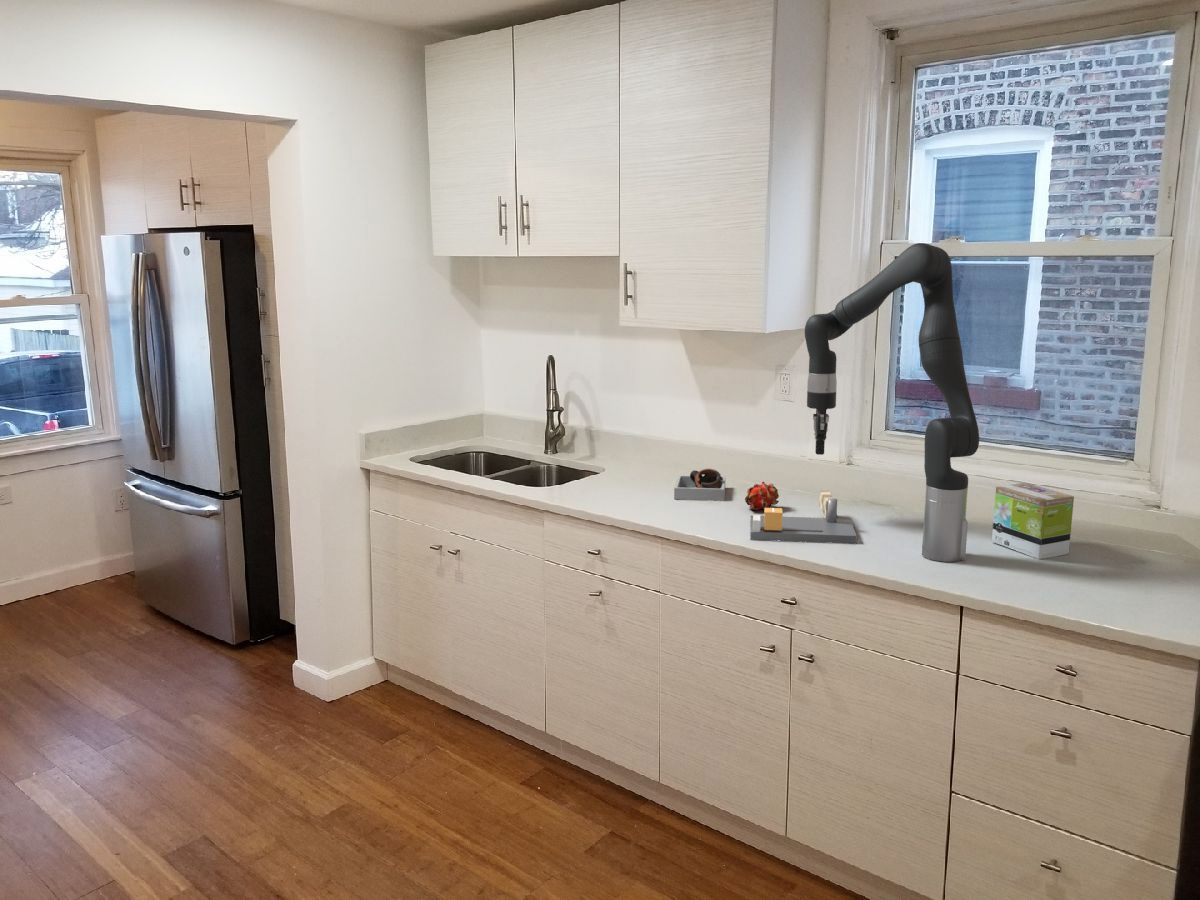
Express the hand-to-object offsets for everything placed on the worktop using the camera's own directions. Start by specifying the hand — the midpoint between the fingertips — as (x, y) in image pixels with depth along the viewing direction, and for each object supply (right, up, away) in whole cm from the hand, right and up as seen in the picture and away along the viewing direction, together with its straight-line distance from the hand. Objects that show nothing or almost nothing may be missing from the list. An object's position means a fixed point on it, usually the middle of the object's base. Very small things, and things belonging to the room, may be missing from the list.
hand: (819, 454), depth 254 cm
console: (-7, -20, -9) cm, 23 cm away
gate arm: (+2, -16, +2) cm, 16 cm away
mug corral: (-28, -12, +33) cm, 46 cm away
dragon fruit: (-13, -16, +14) cm, 25 cm away
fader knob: (-15, -19, -13) cm, 27 cm away
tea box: (+45, -23, -24) cm, 56 cm away
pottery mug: (-27, -12, +36) cm, 46 cm away
